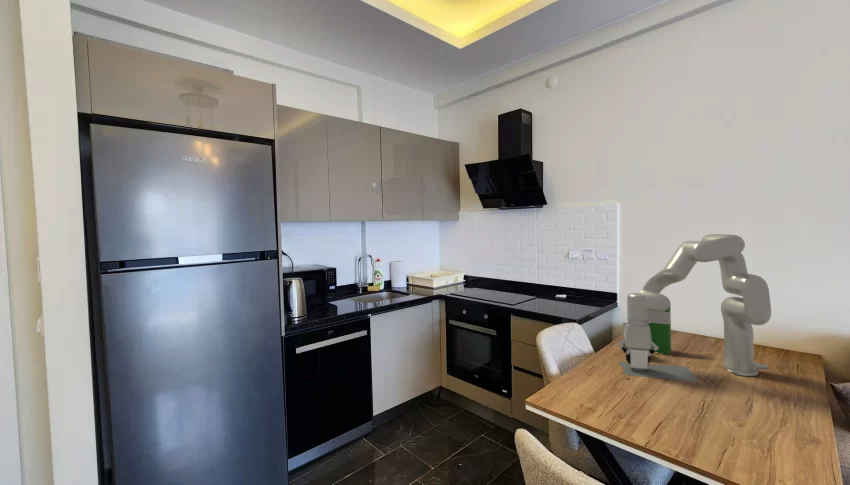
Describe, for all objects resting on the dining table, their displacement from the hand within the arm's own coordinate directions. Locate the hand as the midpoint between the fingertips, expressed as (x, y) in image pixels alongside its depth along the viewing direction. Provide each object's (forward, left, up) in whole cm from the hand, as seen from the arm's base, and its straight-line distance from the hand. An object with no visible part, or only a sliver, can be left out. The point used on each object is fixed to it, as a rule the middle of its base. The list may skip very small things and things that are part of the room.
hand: (637, 363), depth 156 cm
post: (0, 0, -3) cm, 3 cm away
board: (-7, 0, -4) cm, 8 cm away
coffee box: (-2, -19, -4) cm, 20 cm away
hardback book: (-11, -34, -4) cm, 36 cm away
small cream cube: (0, 0, -1) cm, 1 cm away
